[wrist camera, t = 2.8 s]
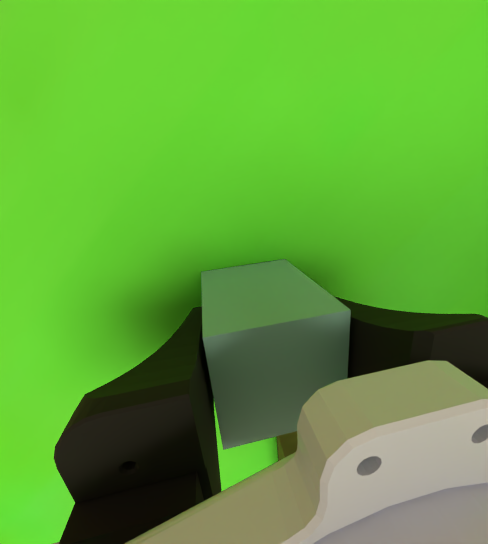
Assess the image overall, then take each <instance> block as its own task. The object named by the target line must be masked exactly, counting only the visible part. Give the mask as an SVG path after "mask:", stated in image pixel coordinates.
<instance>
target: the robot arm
mask: <svg viewBox="0 0 488 544" xmlns="http://www.w3.org/2000/svg"><path fill="white" fill-rule="evenodd" d="M333 297H334V296H333ZM335 298H336V299H337V300H339V301H340V302H341V303H343V304H344V305H345V306H346V307H348V308H349V309H350V310H351V316H350V336H349V355H348V375H347V379H344V380H339V381H336V382H334V383H331V384H329V385H327V386H325V387H323V388H320V389H318V390H317V391H316V392H315V393H314V394H313V395H312V396H311V397H310V399H309V400H308V401H307V402H306V403H305V404H304V405H303V407H302V409H301V413H300V416H299V420H298V423H297V439H298V444H297V451H296V452H295V453H293V454H291V455H289V456H287V457H285V458H283V459H282V460H280V461H278V462H276V463H274V464H272V465H270V466H268V467H267V468H265V469H263V470H261V471H259V472H257V473H255V474H254V475H252V476H250V477H248V478H246V479H244V480H242V481H240V482H239V483H237V484H235V485H233V486H231V487H229V488H227V489H226V490H224V491H222V492H221V482H220V471H219V461H218V450H217V439H216V428H215V416H214V396H213V391H212V385H211V380H210V375H209V369H208V364H207V359H206V353H205V348H204V343H203V333H202V306H201V307H195V308H193V309H192V311H191V312H190V313H189V315H188V316H187V318H186V319H185V321H184V322H183V323H182V325H181V326H180V327H179V329H178V330H177V331H176V332H175V333H174V334H173V336H172V337H171V338H170V339H169V340H168V341H167V342H166V343H165V344H164V345H163V346H162V347H161V348H159V349H158V350H157V351H156V352H155V353H153V354H152V355H151V356H150V357H148V358H147V359H146V360H144V361H143V362H142V363H140V364H139V365H137V366H136V367H134V368H133V369H131V370H130V371H128V372H126V373H125V374H123V375H121V376H120V377H118V378H116V379H114V380H113V381H111V382H109V383H107V384H105V385H103V386H101V387H99V388H97V389H95V390H93V391H91V392H89V393H87V394H85V395H84V397H83V398H82V400H81V402H80V403H79V405H78V406H77V408H76V410H75V411H74V413H73V415H72V417H71V419H70V420H69V422H68V424H67V426H66V428H65V429H64V431H63V433H62V435H61V437H60V439H59V440H58V442H57V444H56V446H55V452H54V460H55V463H56V467H57V469H58V471H59V473H60V475H61V477H62V479H63V481H64V482H65V484H66V486H67V488H68V490H69V492H70V494H71V496H72V497H73V499H74V501H75V505H74V507H73V510H72V512H71V515H70V517H69V520H68V522H67V525H66V527H65V530H64V532H63V535H62V537H61V540H60V542H57V543H53V544H488V318H487V317H484V316H482V315H479V314H430V313H414V312H404V311H395V310H388V309H382V308H377V307H371V306H367V305H362V304H358V303H355V302H351V301H347V300H344V299H340V298H337V297H335Z"/></svg>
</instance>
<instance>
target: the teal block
mask: <svg viewBox="0 0 488 544" xmlns="http://www.w3.org/2000/svg"><path fill="white" fill-rule="evenodd" d="M201 285H202V333H203V343H204V348H205V353H206V359H207V364H208V369H209V375H210V380H211V385H212V391H213V396H214V401H215V407H216V412H217V418H218V423H219V428H220V434H221V439H222V444H223V450H224V449H228V448H232V447H236V446H240V445H244V444H248V443H252V442H256V441H260V440H264V439H268V438H271V437H275V436H279V435H283V434H287V433H291V432H295V431H297V423H298V420H299V416H300V413H301V409H302V407H303V405H304V404H305V403H306V402H307V401H308V400H309V399H310V397H311V396H312V395H313V394H314V393H315V392H316V391H317V390H318V389H320V388H323V387H325V386H327V385H329V384H331V383H334V382H336V381H339V380H344V379H347V375H348V355H349V336H350V316H351V310H350V309H349V308H348V307H346V306H345V305H344V304H343V303H341V302H340V301H339V300H337V299H336V298H335V297H333V296H332V295H331V294H330V293H328V292H327V291H326V290H324V289H323V288H322V287H321V286H319V285H318V284H317V283H315V282H314V281H313V280H312V279H310V278H309V277H308V276H306V275H305V274H304V273H302V272H301V271H300V270H299V269H297V268H296V267H295V266H293V265H292V264H291V263H290V262H288V261H287V260H286V259H282V260H275V261H269V262H262V263H255V264H249V265H242V266H236V267H229V268H222V269H216V270H209V271H203V272H201Z"/></svg>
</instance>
